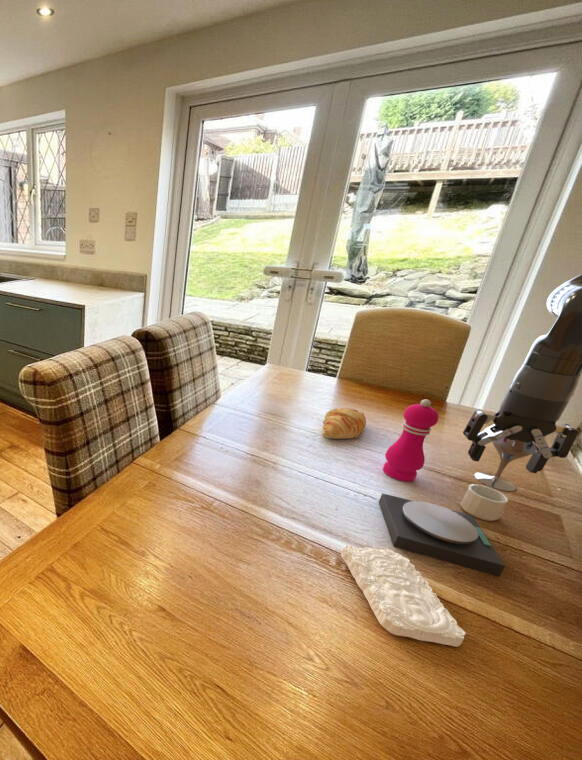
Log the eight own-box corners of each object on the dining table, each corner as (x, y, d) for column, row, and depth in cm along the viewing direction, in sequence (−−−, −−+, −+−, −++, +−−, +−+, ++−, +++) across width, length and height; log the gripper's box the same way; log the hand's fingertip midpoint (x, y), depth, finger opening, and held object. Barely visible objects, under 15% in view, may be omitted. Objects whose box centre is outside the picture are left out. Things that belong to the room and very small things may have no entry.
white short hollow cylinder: (490, 508, 85) (500, 489, 83) (503, 525, 80) (514, 505, 78) (455, 499, 87) (464, 481, 85) (465, 516, 82) (475, 497, 80)
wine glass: (516, 496, 88) (548, 438, 82) (469, 479, 94) (495, 424, 88) (520, 483, 93) (550, 427, 87) (474, 467, 99) (500, 414, 93)
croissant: (330, 455, 109) (352, 439, 103) (302, 427, 114) (321, 410, 108) (365, 433, 120) (386, 417, 114) (338, 408, 125) (357, 392, 119)
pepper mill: (388, 480, 93) (417, 404, 86) (374, 463, 100) (400, 391, 92) (424, 485, 92) (456, 408, 84) (407, 467, 98) (436, 394, 91)
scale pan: (464, 513, 78) (465, 511, 78) (488, 552, 69) (489, 549, 69) (396, 497, 82) (397, 494, 82) (410, 531, 73) (411, 529, 73)
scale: (467, 524, 80) (473, 513, 79) (499, 576, 68) (506, 564, 67) (378, 502, 86) (382, 491, 85) (393, 546, 74) (398, 534, 73)
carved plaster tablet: (401, 561, 71) (407, 548, 70) (466, 650, 56) (475, 634, 55) (336, 552, 72) (341, 539, 71) (383, 636, 58) (390, 621, 57)
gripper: (581, 391, 73) (539, 465, 79) (480, 377, 79) (449, 447, 85) (609, 407, 67) (561, 486, 73) (497, 391, 72) (462, 465, 78)
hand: (501, 465), depth 79 cm, fingers open, 8 cm apart
